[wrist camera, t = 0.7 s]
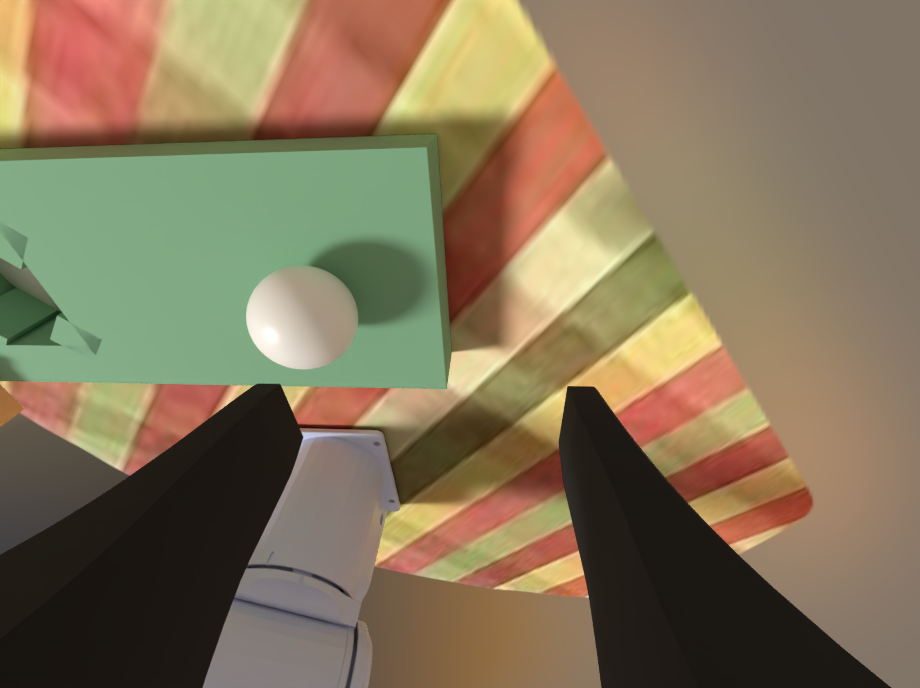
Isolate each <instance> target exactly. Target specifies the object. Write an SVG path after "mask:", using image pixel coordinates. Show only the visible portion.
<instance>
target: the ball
mask: <svg viewBox="0 0 920 688" xmlns="http://www.w3.org/2000/svg"><path fill="white" fill-rule="evenodd" d="M246 323H247V327H248V331H249V334H250V336H251V338H252V340H253V342H254V344H255V345H256V347H257V348H258V349H259V350H260V351H261V352H262V353H263V354H264V355H265V356H266V357H268V358H269V359H271V360H272V361H274V362H276V363H278V364H280V365H282V366H285V367H288V368H293V369H314V368H319V367H322V366H325V365H327V364H329V363H332V362H333V361H335V360H336V359H338V358H339V357H340V356H341V355H343V354H344V353H345V351H346V350H347V349H348V348H349V346H350V345H351V343H352V342H353V340H354V337H355V335H356V332H357V327H358V310H357V306H356V303H355V300H354V298H353V296H352V294H351V292H350V291H349V289H348V288H347V287H346V285H345V284H344V283H343V282H342V281H341V280H339V279H338V278H337V277H336V276H334V275H333V274H331V273H329V272H327V271H325V270H323V269H320V268H317V267H312V266H302V265H297V266H290V267H285V268H282V269H279V270H277V271H275V272H273V273H271V274H269V275H268V276H267V277H265V278H264V279H263V280H262V281H261V282H260V283H259V284H258V285H257V286H256V288H255V289H254V291H253V292H252V294H251V296H250V298H249V301H248V305H247V310H246Z"/></svg>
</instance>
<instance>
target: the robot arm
mask: <svg viewBox="0 0 920 688" xmlns="http://www.w3.org/2000/svg"><path fill="white" fill-rule="evenodd" d="M559 450H560V459H561V467H562V476H563V483H564V488H565V492H566V497H567V501H568V505H569V510H570V514H571V518H572V523H573V527H574V531H575V536H576V540H577V544H578V549H579V553H580V557H581V562H582V566H583V570H584V575H585V579H586V584H587V590H588V595H589V600H590V607H591V614H592V621H593V628H594V635H595V641H596V649H597V656H598V664H599V672H600V680H601V686H602V688H891V687H890V686H888V685H887V684H886V683H885V682H883V681H882V680H881V679H880V678H879V677H877V676H876V675H875V674H874V673H872V672H871V671H870V670H869V669H868V668H866V667H865V666H864V665H863V664H861V663H860V662H859V661H858V660H857V659H855V658H854V657H853V656H852V655H850V654H849V653H848V652H847V651H846V650H844V649H843V648H842V647H841V646H840V645H838V644H837V643H836V642H835V641H834V640H833V639H832V638H831V637H829V636H828V635H827V634H826V633H825V632H823V630H821V629H820V628H819V627H818V626H817V625H816V624H814V623H813V622H812V621H811V620H810V619H809V618H807V617H806V616H805V615H804V614H803V613H802V612H801V611H800V610H798V609H797V608H796V607H795V606H794V605H793V604H792V603H790V602H789V601H788V600H787V599H786V598H785V597H783V596H782V595H781V594H780V593H779V592H778V591H777V590H775V589H774V588H773V587H772V586H771V585H770V584H769V583H768V582H767V581H765V580H764V579H763V578H762V577H761V576H760V575H759V574H758V573H757V572H756V571H755V570H754V569H753V568H752V567H751V566H750V565H749V564H748V563H746V562H745V561H744V560H743V559H742V558H741V557H740V556H739V555H738V554H737V553H736V552H735V551H734V550H733V549H732V548H731V547H730V546H729V545H728V544H727V543H726V542H725V541H724V540H723V539H722V538H721V537H720V536H719V535H718V534H717V533H716V532H715V531H714V530H713V529H712V528H711V527H710V526H709V525H708V524H707V523H706V522H705V521H704V520H703V519H702V518H701V517H700V516H699V515H698V514H697V513H696V512H695V510H694V509H693V508H692V507H691V506H690V505H689V504H688V503H687V502H686V501H685V500H684V498H683V497H682V496H681V495H680V494H679V493H678V492H677V491H676V490H675V488H674V487H673V486H672V485H671V484H670V483H669V482H668V481H667V479H666V478H665V477H664V476H663V475H662V474H661V472H660V471H659V470H658V469H657V468H656V466H655V465H654V464H653V463H652V462H651V460H650V459H649V458H648V457H647V455H646V454H645V453H644V452H643V451H642V449H641V448H640V447H639V446H638V444H637V443H636V442H635V441H634V439H633V438H632V437H631V436H630V434H629V433H628V432H627V430H626V429H625V428H624V426H623V425H622V424H621V422H620V421H619V420H618V418H617V417H616V416H615V414H614V413H613V411H612V410H611V409H610V407H609V406H608V405H607V403H606V402H605V400H604V399H603V397H602V396H601V395H600V393H599V392H598V390H597V389H596V388H595V387H583V386H568V387H567V393H566V400H565V406H564V412H563V419H562V425H561V431H560V438H559ZM399 509H400V502H399V497H398V493H397V489H396V485H395V481H394V476H393V472H392V468H391V464H390V459H389V455H388V451H387V447H386V443H385V438H384V435H383V433H382V432H380V431H378V430H351V429H314V428H299V426H298V423H297V421H296V419H295V417H294V414H293V412H292V410H291V407H290V405H289V403H288V401H287V398H286V396H285V394H284V392H283V389H282V387H281V385H280V384H264V383H257V384H256V385H254V386H253V387H251V388H250V389H248V390H247V391H246V392H244V393H243V394H241V395H240V396H239V397H237V398H236V399H235V400H233V401H232V402H231V403H229V404H228V405H227V406H225V407H224V408H223V409H221V410H220V411H219V412H217V413H216V414H215V415H213V416H212V417H211V418H209V419H208V420H207V421H205V422H204V423H203V424H201V425H200V426H199V427H197V428H196V429H195V430H193V431H192V432H191V433H189V434H188V435H187V436H185V437H184V438H183V439H181V440H180V441H179V442H177V443H176V444H175V445H173V446H172V447H170V448H169V449H168V450H166V451H165V452H163V453H162V454H160V455H159V456H158V457H156V458H155V459H153V460H152V461H150V462H149V463H148V464H146V465H145V466H143V467H142V468H140V469H139V470H138V471H136V472H135V473H133V474H132V475H131V476H129V477H128V478H126V479H125V480H124V481H122V482H120V483H119V484H117V485H116V486H114V487H113V488H111V489H110V490H108V491H107V492H105V493H104V494H102V495H101V496H99V497H98V498H96V499H94V500H93V501H91V502H90V503H88V504H86V505H85V506H83V507H82V508H80V509H78V510H77V511H75V512H74V513H72V514H71V515H69V516H67V517H65V518H64V519H62V520H61V521H59V522H57V523H56V524H54V525H52V526H50V527H49V528H47V529H45V530H44V531H42V532H40V533H38V534H37V535H35V536H33V537H31V538H29V539H28V540H26V541H24V542H23V543H21V544H19V545H17V546H15V547H14V548H12V549H10V550H8V551H6V552H5V553H3V554H1V555H0V688H368V684H369V678H370V672H371V663H372V643H371V639H370V636H369V634H368V629H367V626H366V624H365V623H364V622H362V621H358V620H357V619H358V615H359V611H360V606H361V601H362V600H363V598H364V596H365V594H366V593H367V590H368V588H369V585H370V581H371V578H372V573H373V569H374V565H375V560H376V556H377V552H378V548H379V543H380V539H381V535H382V531H383V526H384V522H385V518H386V514H387V511H398V510H399Z"/></svg>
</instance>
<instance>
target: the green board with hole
mask: <svg viewBox="0 0 920 688" xmlns="http://www.w3.org/2000/svg"><path fill="white" fill-rule="evenodd" d="M297 265H302V266H312V267H317V268H320V269H323V270H325V271H327V272H329V273H331V274H333V275H334V276H336V277H337V278H338V279H339V280H341V281H342V282H343V283H344V284H345V285H346V287H347V288H348V289H349V291H350V292H351V294H352V296H353V298H354V300H355V303H356V306H357V310H358V327H357V332H356V335H355V337H354V340H353V342H352V343H351V345H350V346H349V348H348V349H347V350H346V351H345V353H344V354H343V355H341V356H340V357H339V358H338V359H336V360H335V361H333V362H332V363H329V364H327V365H325V366H322V367H319V368H314V369H293V368H288V367H285V366H282V365H280V364H278V363H276V362H274V361H272V360H271V359H269V358H268V357H266V356H265V355H264V354H263V353H262V352H261V351H260V350H259V349H258V348H257V347H256V345H255V344H254V342H253V340H252V338H251V336H250V334H249V331H248V327H247V323H246V310H247V305H248V301H249V298H250V296H251V294H252V292H253V291H254V289H255V288H256V286H257V285H258V284H259V283H260V282H261V281H262V280H263V279H264V278H265V277H267V276H268V275H269V274H271V273H273V272H275V271H277V270H279V269H282V268H285V267H290V266H297ZM14 286H15V287H16V288H15V287H14ZM60 311H61V312H62V313H60ZM59 313H60V314H59ZM451 354H452V350H451V335H450V320H449V305H448V290H447V275H446V260H445V245H444V230H443V215H442V200H441V184H440V169H439V154H438V139H437V134H418V135H389V136H360V137H331V138H302V139H274V140H245V141H216V142H187V143H158V144H130V145H101V146H72V147H43V148H14V149H0V381H35V382H90V383H145V384H201V385H256V384H257V383H264V384H280V385H281V386H311V387H367V388H422V389H447V382H448V375H449V368H450V361H451ZM22 410H24V408H23V407H22V406H21V405H20V404H19V403H18V402H17V401H16V400H15V399H14V398H13V397H12V396H11V395H10V394H9V393H8V392H7V391H6V390H5V389H4V388H3V387H2V386H1V385H0V427H1V426H2V425H3V424H4V423H6V422H7V421H9V420H10V419H11V418H13V417H14V416H15V415H17V414H18V413H20V412H21V411H22Z"/></svg>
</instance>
